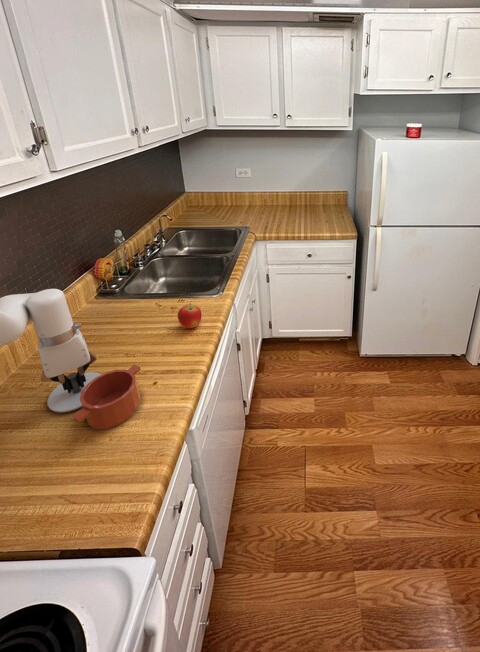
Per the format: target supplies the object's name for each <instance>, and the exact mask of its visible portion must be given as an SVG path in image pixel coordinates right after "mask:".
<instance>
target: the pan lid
mask: <svg viewBox="0 0 480 652" xmlns="http://www.w3.org/2000/svg"><path fill="white" fill-rule="evenodd" d="M102 374H103V373H100V372H95V371H88V372H85V374H84V375H85V378H86V382H84V386H85V387H86V385H87V384H88V383H90V382H91V381H92V380H93V379H95V378H96V377H98V376H100V375H102ZM66 376H67V379H68V382H69V385H70V388H71V391H72V392H71V393H68V391H67V390H65V391H64V388H63V386H62V384H60V383H59V384H58V385H57V386H56V387H55V388H54V389H53V390H52V392H51V393H50V394H49V395H48V398H47V402H46V404H47V407H48V409H49V410H50V411H52V412H55V413H68V412H72V411H75V410H78V409H82V405H81V402H80V396H81V392H82V391H83V389H84V388H85V387H83V388H81V385H80V382H79V379H78V374H77V371H75V372H70V373H69V374H68V375H66Z"/></svg>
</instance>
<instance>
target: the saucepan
mask: <svg viewBox="0 0 480 652" xmlns="http://www.w3.org/2000/svg"><path fill="white" fill-rule="evenodd" d="M141 370H142V369H141V366H139V365H136V364H133V365H132V366H130V367H129V368H128V369H126V368H125V369H114V370H110V371H106V372H104V373H101V374H102V375H100V376H98V377H96V378H95V379H93V380H92V381H91V382H90V383H88V384H87V385H86V387H85V388H84V389H83V391H82V392H81V396H80V402H81V405H82V407H81V408H80V410H78V411H77V412H76V413H75V414H73V416H72V419H73V420H74V421H76V422H79V423H82V422H83V421H84V420H86V422H87V424H88V426H90V427H91V428H92V429H95V430H108V429H111V428H114V427H117V426H119V425H121V424H124V423H125V422H126V421H127V420H129V418H131V417H132V416H133V415H134V414H135V413H136V411H137V410H138V409H139V407H140V404H141V393H140V388H139V385H138V381H137V377H136V374H138V373H139V372H140V371H141Z"/></svg>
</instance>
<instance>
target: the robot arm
mask: <svg viewBox="0 0 480 652" xmlns="http://www.w3.org/2000/svg"><path fill="white" fill-rule="evenodd" d="M29 321H32V323H33V327H34V328H35V332H36V333H37V337H38V340H39V342H38V343H37V349H38V356H39V361H40V364H41V367H42V371H41V375H40V382H43V383H44V382H56V383H59V385H60V384H62V386H63V388H64V391H65V390H67V391H68V393H71V392H72V391H71V388H70V385H69V382H68V379H67V376H68V375H65V373H68V372H71V371H73V370H76V369H77V371H76V373H77V374H78V379H79V382H80V385H81V388H83V387H85V386H84V382H86V378H85V375H84V374H85V373H86V371H87V370H88V369H89V367H90V365H92V364H93V363H95V362H96V361H97V356H96V355H95V354H94V353H92V352H91V351H90V350H89V347H88V345H87V341H86V339H85V337H84V335H83V333H82V332H81V331H80V329H81V328H82V323H81V322H77V323H76V322H74V320H73V317H72V315H71V311H70V308H69V305H68V301H67V298H66V295H65V293H64V292H63V291H62V290H61V289H58V288H47V289H42V290H40V291H37V292H31V293H18V294H16V293H15V294H8V295H5V296H2V297H0V346H5V345H8V344H11V343H13V342H15V341H18V339H20V337H21V336H22V335H23V334H24V332H25V330H26V328H27V324H28V322H29Z"/></svg>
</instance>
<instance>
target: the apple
mask: <svg viewBox="0 0 480 652" xmlns="http://www.w3.org/2000/svg"><path fill="white" fill-rule="evenodd" d="M202 317H203V316H202V309H201V307H200V306H198V305H197V304H193V303H192V302H190V303H189V304H185V305H183V306H181V308H179V310H178V312H177V319H178V322H179V324H180V325H181V326H182V327H183V328H185V329H194V328H196V327H197V326H198V325H199V324H200V323H201V320H202Z"/></svg>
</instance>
